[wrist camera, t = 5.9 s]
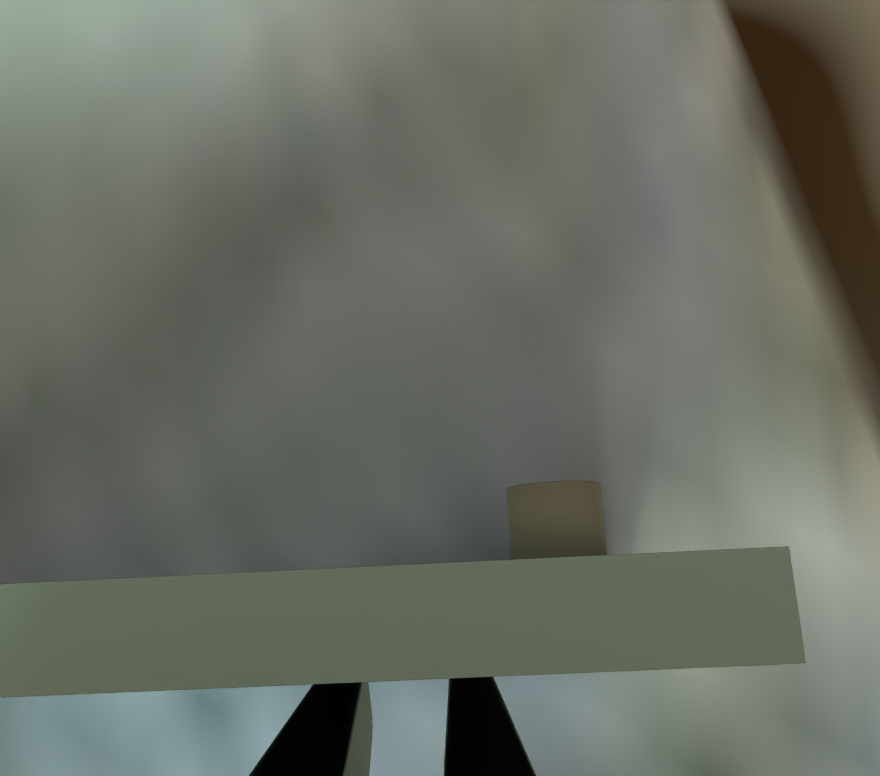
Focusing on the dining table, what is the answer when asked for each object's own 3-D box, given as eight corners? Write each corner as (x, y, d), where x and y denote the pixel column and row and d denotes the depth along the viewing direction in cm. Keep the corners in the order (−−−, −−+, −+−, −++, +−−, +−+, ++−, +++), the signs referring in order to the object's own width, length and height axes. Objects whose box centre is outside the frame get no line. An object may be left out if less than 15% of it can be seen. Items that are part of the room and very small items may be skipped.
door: (607, 514, 16) (784, 417, 7) (616, 617, 15) (820, 667, 6) (-71, 548, 16) (-788, 502, 7) (-81, 648, 16) (-862, 739, 7)
